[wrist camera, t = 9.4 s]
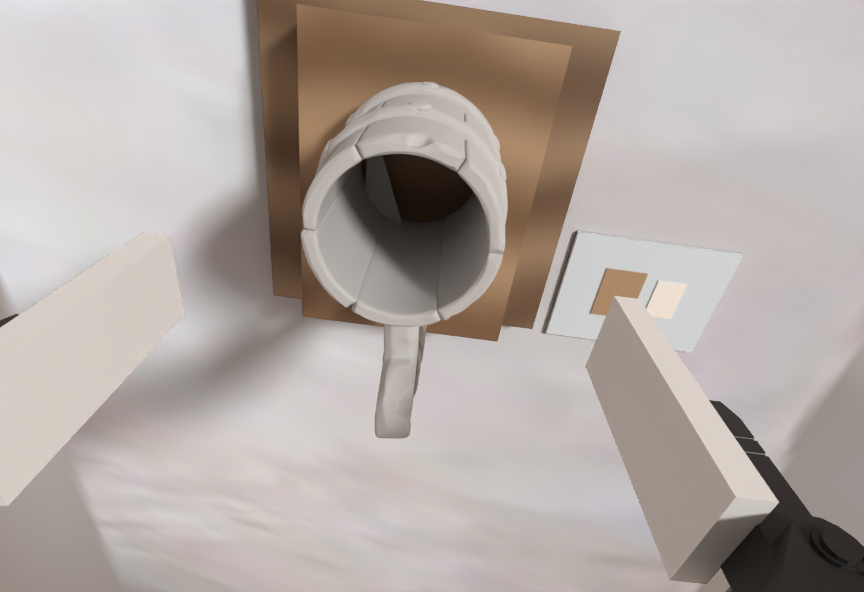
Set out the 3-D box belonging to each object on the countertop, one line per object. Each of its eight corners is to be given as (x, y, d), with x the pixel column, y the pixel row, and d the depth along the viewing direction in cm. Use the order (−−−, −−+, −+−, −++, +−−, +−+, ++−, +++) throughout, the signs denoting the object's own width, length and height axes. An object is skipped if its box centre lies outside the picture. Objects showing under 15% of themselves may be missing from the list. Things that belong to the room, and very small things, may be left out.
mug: (508, 84, 20) (570, 131, 10) (479, 305, 26) (498, 481, 16) (340, 72, 20) (224, 108, 10) (349, 296, 26) (283, 466, 16)
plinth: (266, -22, 23) (223, -36, 18) (611, 31, 23) (647, 30, 19) (280, 284, 32) (253, 323, 27) (528, 317, 32) (541, 360, 28)
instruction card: (577, 230, 29) (579, 232, 28) (740, 253, 29) (744, 255, 29) (545, 331, 33) (546, 334, 32) (689, 349, 33) (692, 353, 33)
